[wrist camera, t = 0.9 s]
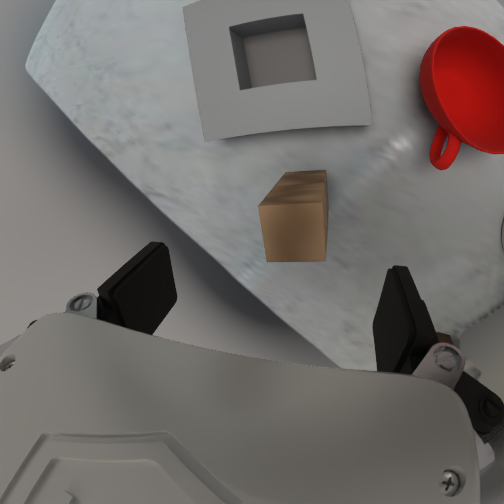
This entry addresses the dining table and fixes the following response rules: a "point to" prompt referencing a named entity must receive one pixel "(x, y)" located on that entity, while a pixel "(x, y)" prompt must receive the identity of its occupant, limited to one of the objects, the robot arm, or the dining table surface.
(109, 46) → the dining table surface
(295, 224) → the brown rectangular block
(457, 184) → the dining table surface
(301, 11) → the well block
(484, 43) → the ceramic cup
